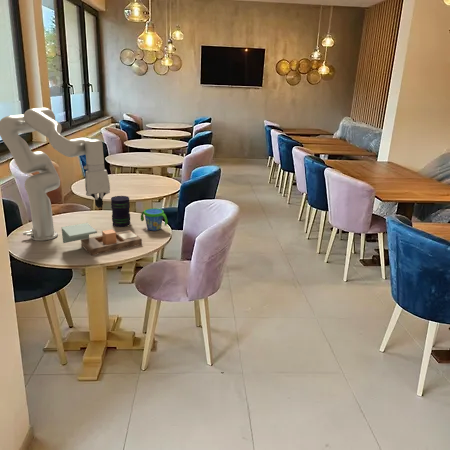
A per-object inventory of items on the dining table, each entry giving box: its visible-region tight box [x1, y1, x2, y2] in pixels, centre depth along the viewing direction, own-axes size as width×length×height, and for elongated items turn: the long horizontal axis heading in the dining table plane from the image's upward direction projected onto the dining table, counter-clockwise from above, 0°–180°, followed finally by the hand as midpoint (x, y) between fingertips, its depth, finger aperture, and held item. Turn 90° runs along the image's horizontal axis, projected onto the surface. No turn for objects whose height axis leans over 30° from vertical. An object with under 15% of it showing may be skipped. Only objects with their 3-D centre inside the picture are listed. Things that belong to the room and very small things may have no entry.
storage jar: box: [110, 195, 131, 228], centre depth 225 cm, size 10×10×15 cm
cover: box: [61, 222, 98, 244], centre depth 189 cm, size 12×13×8 cm
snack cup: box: [140, 207, 169, 232], centre depth 221 cm, size 16×10×10 cm
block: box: [101, 228, 117, 245], centre depth 198 cm, size 5×5×6 cm
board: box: [80, 229, 143, 256], centre depth 199 cm, size 25×14×3 cm, turn 126°
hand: (99, 206), depth 190 cm, fingers closed
